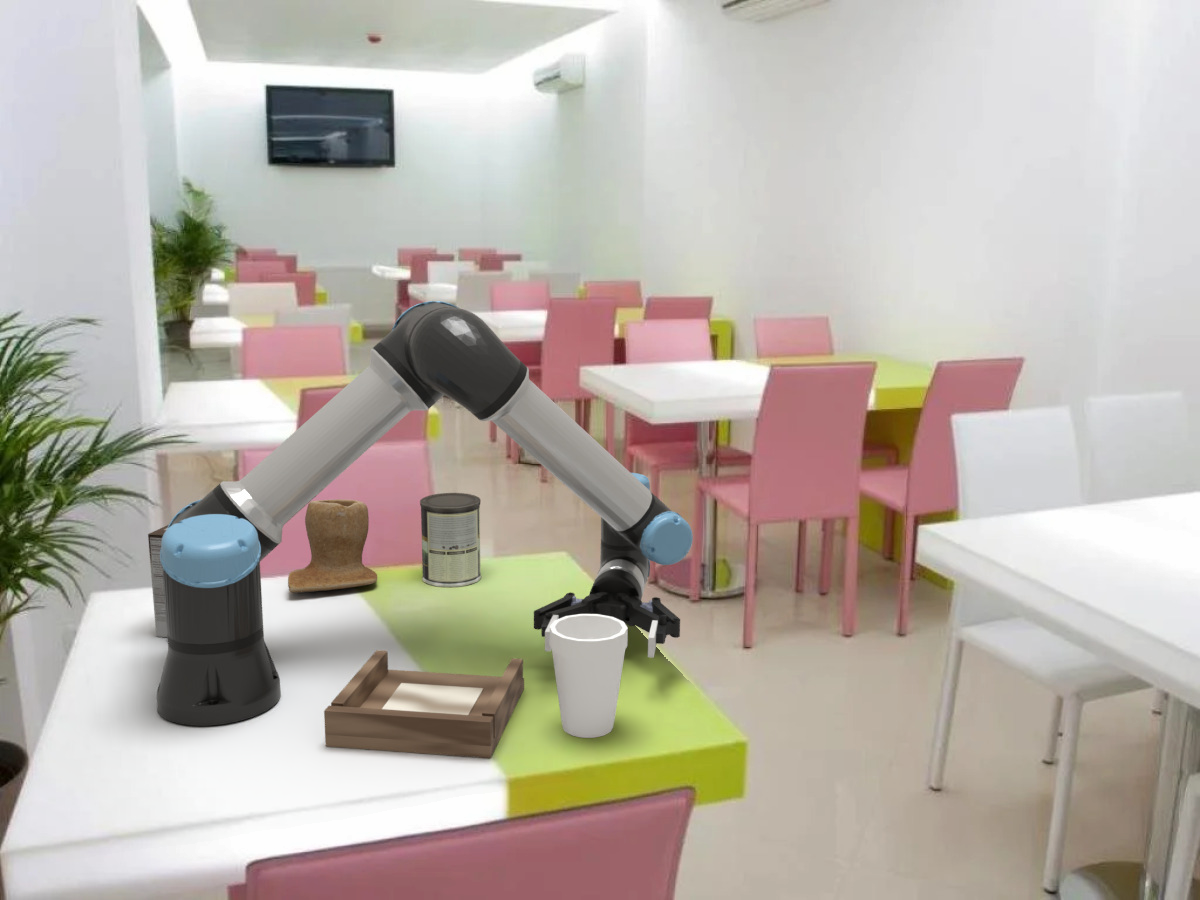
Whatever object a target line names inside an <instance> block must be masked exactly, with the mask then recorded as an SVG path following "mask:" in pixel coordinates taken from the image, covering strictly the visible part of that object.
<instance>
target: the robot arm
mask: <svg viewBox="0 0 1200 900" xmlns="http://www.w3.org/2000/svg"><path fill="white" fill-rule="evenodd" d="M369 354H370V355H369V365H368V366H366V368H365V369H363V370H362V371H361V372H360V373H359V374H358V375H357V376H356V377H354V379H353V380H351V381H350V382H349V383H348V384H346V386H344V387H343V389H341V390H340V391H339V392H338V393H337V394H336V395H334V397H332V398H331V399H330V400H329V401H328V402H327V403H326V404H323V406H322V407H321V408H320V409H318V410H317V411H316V413H314V414H313V415H312V416H311V417H310V418H309V419H307V420H306V421H305V422H303V424H302V425H300V427H299V428H297V429H296V430H295V431H294V432H293V433H291V434H290V435H289V437H287V438H286V439H285V440H284V441H283V442H282V443H281V444H279V445H278V446H277V447H276V448H274V450H273V451H272V452H270V453H269V454H268V455H267V456H266V457H265V458H264V459H262V460H261V461H260V462H259V463H258V464H256V465H255V466H254V467H253V468H252V469H251V470H250V471H249V472H248V473H247V474H246V475H244V476H243V477H242V478H241V479H240V480H236V481H232V480H231V481H227V480H226V481H225V480H223V481H221V482H220V483H218V484H217V485H216V486H215V487H214V488H213V489H212V490H210V492H208V493H207V494H206V495H205V496H204V497H202V498H201V499H197V500H194V501H193V502H190V503H188V504H187V505H185V506H184V507H183V508H181V509H180V510H179V511H178V512H177V513H176V514H175V515H174V516H173V518H172V519H171V520H170V522H169V524H167V525H168V528H167V530H166V531H165V533H164V535H163V537H162V542H161V550H160V561H161V565H162V568H163V582H164V596H165V610H166V625H167V637H166V639H167V653H166V658H165V661H164V665H163V668H162V669H163V670H162V672H161V673H162V674H161V678H160V682H159V684H158V686H157V690H156V706H157V711H158V714H159V715H160V716H161V717H162V718H164V719H165V720H167V721H169V722H172V723H176V724H180V725H186V726H196V727H197V726H199V727H201V726H202V727H203V726H206V727H207V726H219V725H226V724H227V725H228V724H233V723H236V722H240V721H244V720H247V719H248V720H249V719H250V718H253V717H256V716H259V715H260V714H262V713H265V712H267V711H268V710H270V709H271V708H272V707H274V706H275V705H276V704H277V703H278V702H279V700H280V698H281V696H282V695H281V694H282V693H281V678H280V674H279V673H278V672H279V671H277V668H276V666H275V663H274V660H273V658H272V655H271V652H270V650H269V647H268V646H267V644H266V641H265V634H264V615H263V598H262V580H261V578H262V577H261V561H263V560H264V558H266V557H267V556H268V555H269V554H270V553H271V552H272V551H273V550H274V549H276V548H277V546H279V545H280V544H281V543H282V542H283V541H282V539H283V528H284V526H285V525H286V524H288V522H289V521H290V520H292V518H293V517H295V516H296V515H297V514H298V513H299V512H300V511H302V509H303V508H304V507H307V506H308V504H309V503H310V502H311V501H313V499H315V498H316V497H317V496H318V495H319V494H320V493H321V492H322V491H323V490H325V489H326V488H327V487H328V486H329V485H330V484H331V483H332V482H334V481H335V479H337V478H338V477H339V476H340V475H341V474H342V473H343V472H345V470H347V469H348V468H349V467H350V466H351V465H352V464H353V463H355V462H356V461H357V460H358V459H359V458H360V457H361V456H363V454H365V453H366V451H368V450H369V449H370V448H371V447H372V446H374V444H376V443H377V442H378V441H379V440H380V439H382V437H383V436H385V435H386V434H387V433H388V432H389V431H390V430H391V429H393V428H394V427H395V426H396V425H397V424H398V423H399V422H400V421H401V420H402V419H404V417H406V416H407V415H408V414H409V413H410V412H412V411H423V412H424V411H428V410H429V409H431V408H432V407H433V406H434V405H435V404H436V403H437V402H438V401H439V400H440V399H441V398H442V397H444V396H446V397H448V398H449V399H451V400H452V401H454V402H455V403H457V404H458V405H460V406H462V407H463V408H465V410H467V411H468V412H470V413H471V414H472V415H473V416H474V417H475V418H476V419H478V420H479V421H481V422H487V421H488V422H489V421H491V422H492V423H493V424H495V426H497V427H498V428H499V429H500V430H502V431H503V432H504V433H505V435H507V436H508V437H509V438H510V439H512V440H513V441H514V442H515V443H516V444H517V445H518V446H519V447H520V448H522V449H523V450H524V451H525V452H526V453H528V454H529V455H530V456H531V457H532V458H534V460H535V461H537V462H538V464H540V465H541V466H542V467H544V468H545V470H547V471H548V472H549V473H550V474H552V475H553V476H554V477H555V478H556V479H557V480H558V481H559V482H560V483H562V484H563V485H564V486H565V487H566V488H567V489H568V490H570V491H571V492H572V493H573V495H575V496H577V497H578V498H579V499H580V500H581V501H582V502H583V503H585V504H586V505H587V506H588V507H589V508H590V509H591V510H592V511H593V512H594V513H596V514H597V515H598V516H599V517H600V562H599V564H600V565H599V570H598V572H597V575H596V577H595V579H594V581H593V585H592V587H591V588H590V591H589V594H588V595H587V596H585V597H584V598H577V596H575V595H576V594H575V593H574V592H571V591H570V592H567V593H565V595H564V596H563V597H560V598H558V599H557V600H554V601H552V602H550V603H548V604H546V605H544V606H542V607H539V608H537V609H535V610H534V611H533V629H534V630H536V631H538V630H541V633H540V634H541V637H543V638H544V652H552V649H551V647H550V625H551V624H552V623H553V622H554V621H555V620H557V619H560V618H562V617H565V616H570V615H577V614H600V615H605V616H611V617H614V618H617V619H619V620H621V621H623V622H624V623H625V624H626V626H629V627H634V626H635V627H637V628H640V629H642V630H643V631H645V632H647V633H648V637H647V658H653V659H654V657H655V653H656V649H657V648H656V647H657V645H658V644H659V645H660V644H661V645H664V644H665V642H666V638H667V636H670V637H672V638H675V639H677V638H679V637H681V618H680V617H679V616H677V615H676V614H675V613H673V612H672V611H671V610H670V609H669V608H667V607H666V605H664V604H663V603H662V602H661V598H660V597H652V598H651V600H648V602H643V600H642V598H643V594H644V591H645V586H646V583H647V581H648V578H649V577H650V573H651V572H650V571H651V562H654V563H656V564H658V565H661V566H670V565H674V564H677V563H679V562H680V561H682V560H684V558H685V557H686V556H687V555H688V553H689V552H690V550H691V548H692V545H693V539H694V537H693V536H694V535H693V531H692V528H691V526H690V523H688V521H687V520H686V519H684V517H682V515H681V514H679V513H678V512H676V511H673V510H672V509H670V507H668V506H667V505H666V504H665V503H664V502H663V501H662V500H660V499H659V498H658V496H656V495H655V494H653V493H652V491H651V488H650V486H651V483H650V479H649V477H647V476H646V475H644V474H641V473H637V472H631V471H629V470H628V469H627V468H626V467H625V465H622V463H620V461H618V460H617V459H616V458H615V457H614V456H613V455H612V454H611V453H610V452H609V451H607V449H605V448H604V447H603V446H602V445H601V444H600V442H598V441H596V439H595V438H593V437H592V435H590V434H589V433H588V432H587V431H586V430H585V429H584V428H582V427H581V426H580V424H578V423H577V422H576V421H575V420H574V419H573V418H572V417H571V416H570V415H569V414H567V412H565V411H564V410H563V409H562V408H561V407H560V406H559V405H558V404H557V403H555V402H554V401H553V400H552V399H551V398H550V397H549V396H548V394H546V393H545V392H544V391H542V390H541V389H540V387H538V386H537V385H536V384H535V383H534V382H533V381H532V380H530V374H529V373H530V370H529V367H528V366H527V365H525V364H524V362H522V361H521V359H519V358H518V357H517V356H516V355H515V354H514V353H513V352H512V351H511V350H510V349H509V347H507V346H506V345H505V343H503V341H502V340H501V339H500V338H499V336H498V335H497V334H496V333H495V332H494V331H493V330H492V328H491V327H490V326H489V325H488V324H487V323H486V322H485V321H484V320H483V319H482V318H480V317H479V316H478V315H477V314H475V313H473V312H471V311H468V310H466V309H463V308H460V307H458V306H456V305H454V304H452V303H448V302H447V301H439V300H428V301H423V302H421V303H417V304H415V305H413V306H411V307H408V309H406V310H405V311H404V312H403V313H402V314H400V315H399V317H398V318H397V319H396V321H395V322H394V324H393V325H392V329H391V331H390V332H389V333H387V334H386V335H385V336H384V337H383V338H382V339H381V340H379V342H378V343H376V344H375V345H374V346H373V347H372V348H371V349H370V353H369ZM650 561H651V562H650Z"/></svg>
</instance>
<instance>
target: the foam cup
mask: <svg viewBox="0 0 1200 900" xmlns="http://www.w3.org/2000/svg"><path fill="white" fill-rule="evenodd" d="M628 629H629V628H628V625H627V624H625V623H624V622H623V621H621V620H619V619H617V618H614V617H611V616H605V615H600V614H577V615H570V616H565V617H562V618H560V619H557V620H555V621H554V622H553V623H552V624H551V625H550V647H551V653H552V660H553V668H554V673H555V674H554V676H555V681H556V690H557V698H558V705H559V713H560V721H561V725H562V726H561V727H562V729H563V731H564V732H565V733H566V734H568V735H570V736H573V737H578V738H582V739H584V738H585V739H586V738H587V739H591V738H592V739H593V738H598V737H599V738H600V737H603V736H605V735H607V734H609V733H611V732H612V731H613V728H614V724H615V720H616V719H615V718H616V711H617V706H618V699H619V693H620V687H621V686H620V685H621V680H622V679H621V678H622V673H623V666H624V659H625V652H626V649H627V647H628V638H629V637H628V635H629V634H628V632H629V631H628Z"/></svg>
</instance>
